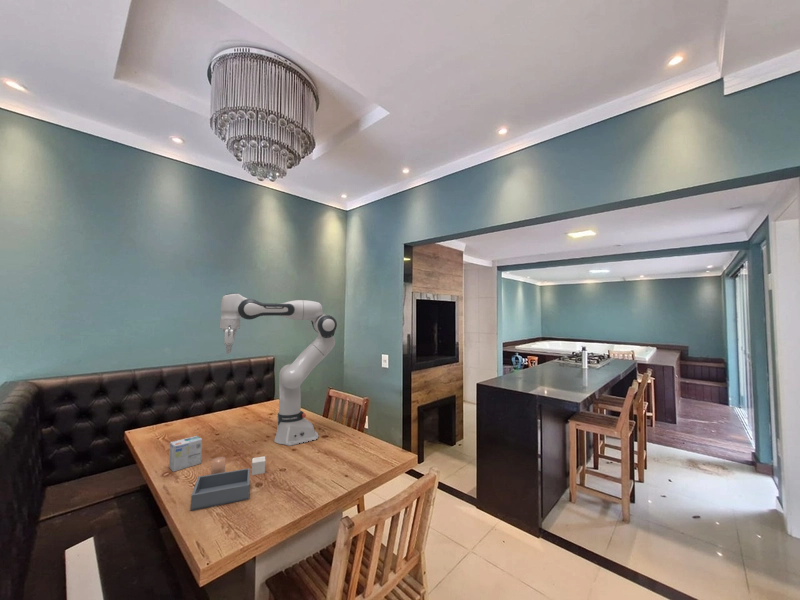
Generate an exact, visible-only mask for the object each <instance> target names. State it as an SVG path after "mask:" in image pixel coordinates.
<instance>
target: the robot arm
mask: <svg viewBox="0 0 800 600" xmlns="http://www.w3.org/2000/svg"><path fill="white" fill-rule="evenodd" d="M220 303H221V304H220V315H221V316H220V320H219V321H220V322H219V329H221V330H222V332H223V333H224V337H223V338H224V340H223V344H224V346H225V350H226V355H230V354H231V353H232V347H233V344H234V341H235V338H236V333H237V332H238V329H240V328H241V327H240V326H241V318H243V319H245V320H254V319H257V318H258V317H263V316H267V317H268V316H270V317H271V316H272V317H273V316H277V317H278V316H279V317H284V318H286V319H289V320H296V321H311V326H312V328H313V330H314V331H315V332H316V333H318V334H317V336H316V338H315V339H314V340H313V341H312V342H311V343H310V344H309V345H308V346H307V347H305V348H304V349H303V350H302V351H301V352H300V353H299V355H298V356H297V357H296V359H294V361H293V362H292V363H288V364H285V365H283V366H282V367H281V369H280V370H279V373H278V374H279V376H278V377H279V378H278V379H279V380H278V386H279V387H278V390H279V392H278V394H279V395H278V397H279V398H278V399H279V400H278V412H277V420H276V423H277V427H276V433H275V437H274V440H273V441H274V443H276V444H279V445H285V446H290V447H291V446H295V445H300V444H304V443H307V442H308V441H309V442H313V441H312V440H314V441H317V440H318V439H319V434H318V432H317V431H316V430H315V428H314V424H313V423H312V422H311V421H310V420H308V419H306V417H307V414H306V413H305V412H304V411H303V410H301V405H302V402H301V401H302V400H301V399H302V394H301V393H302V392H301V385H302V384H303V382H304V381H305V380H306V378H308V376H309V375H310V373H311V372H312V371H313V370H314V369H315V367H317V366H318V364H320V363H321V362H322V360H324V359H325V358H326V356H328V355H329V354H330V352H331V351H332V349H334V348H335V345H336V338H335V337H334V335H335V332H336V330H337V327H338V323H337V320H336V318H334V316H332V315H329V314H325V313H324V312H323V305H322V304H321V303H320V302H318V301H313V300H305V299H303V300H302V299H297V300H296V299H295V300H289V301H286V302H285V301H284V302H283V303H282V302H281V303H277V302H276V303H273V302H271V303H270V302H266V303H265V302H260V301H259V300H256V299H253V298H247V297H245V296H243V295H241V294H240V293H238V292H234V293H233V292H231V293H228V294H225V295H223V296H222V298H221V301H220ZM316 439H317V440H316ZM303 442H304V443H303ZM309 442H308V443H309ZM299 443H300V444H299Z"/></svg>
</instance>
